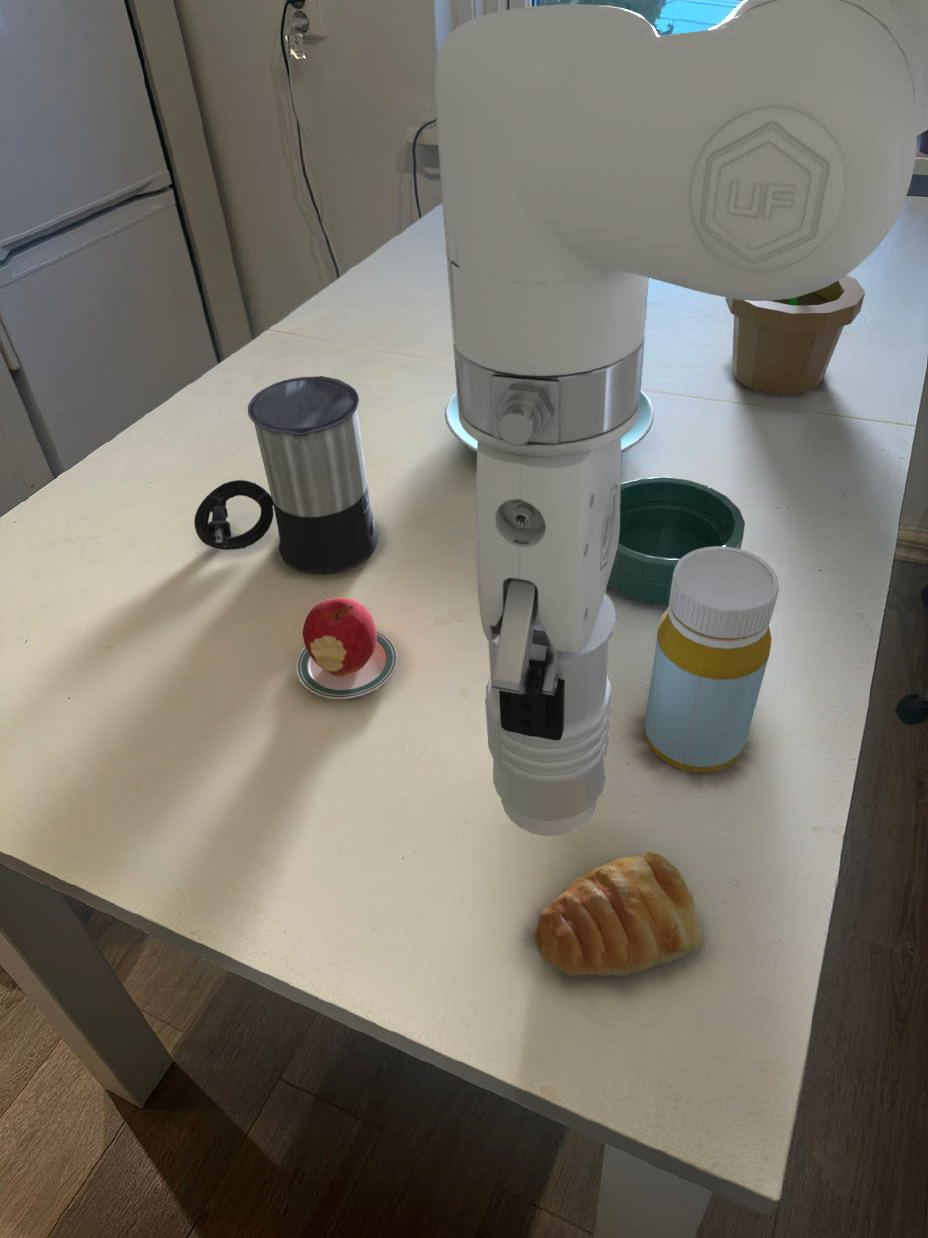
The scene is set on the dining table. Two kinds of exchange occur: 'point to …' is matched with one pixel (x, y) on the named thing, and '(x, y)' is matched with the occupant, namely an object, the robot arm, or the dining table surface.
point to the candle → (557, 769)
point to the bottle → (710, 658)
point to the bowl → (667, 532)
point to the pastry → (620, 919)
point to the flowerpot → (791, 336)
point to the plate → (627, 439)
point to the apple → (343, 651)
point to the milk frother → (303, 479)
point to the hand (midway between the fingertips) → (548, 682)
